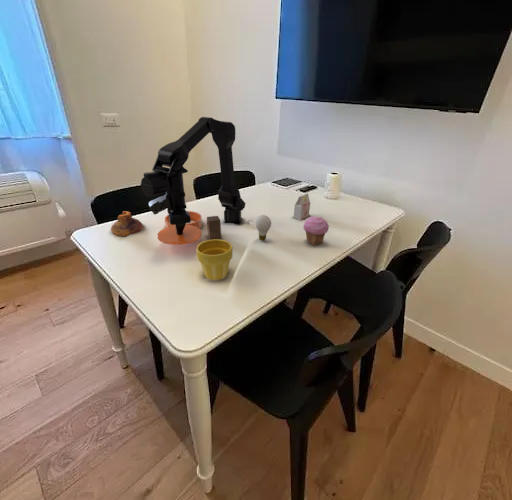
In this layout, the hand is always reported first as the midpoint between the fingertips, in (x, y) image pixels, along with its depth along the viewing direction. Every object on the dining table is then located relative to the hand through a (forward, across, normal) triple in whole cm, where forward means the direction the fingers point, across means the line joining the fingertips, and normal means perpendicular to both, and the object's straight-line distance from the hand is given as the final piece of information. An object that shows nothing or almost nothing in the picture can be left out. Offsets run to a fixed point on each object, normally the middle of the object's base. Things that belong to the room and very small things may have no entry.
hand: (179, 232), depth 104 cm
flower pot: (+6, +21, +8) cm, 23 cm away
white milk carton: (+6, -14, +54) cm, 56 cm away
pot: (+6, -18, +3) cm, 19 cm away
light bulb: (+6, +3, +29) cm, 30 cm away
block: (+6, -4, +13) cm, 15 cm away
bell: (+6, -21, -18) cm, 28 cm away
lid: (+1, 0, 0) cm, 1 cm away
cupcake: (+6, +10, +47) cm, 49 cm away
